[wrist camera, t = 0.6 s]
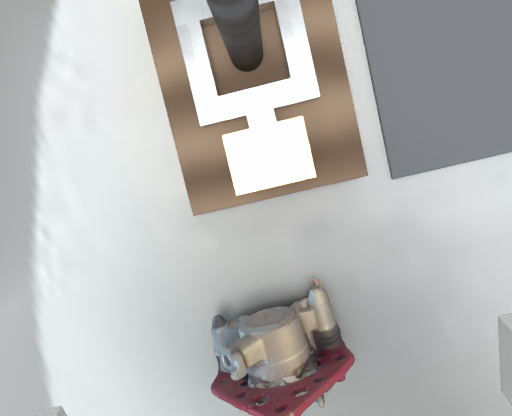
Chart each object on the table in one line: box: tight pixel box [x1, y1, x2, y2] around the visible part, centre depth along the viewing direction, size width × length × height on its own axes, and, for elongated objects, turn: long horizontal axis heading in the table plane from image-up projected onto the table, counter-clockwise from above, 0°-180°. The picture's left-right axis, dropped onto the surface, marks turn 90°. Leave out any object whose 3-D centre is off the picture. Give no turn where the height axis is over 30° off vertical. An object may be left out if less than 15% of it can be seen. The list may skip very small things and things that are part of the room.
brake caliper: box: [211, 279, 355, 416], centre depth 33 cm, size 11×11×12 cm
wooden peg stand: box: [139, 0, 368, 216], centre depth 26 cm, size 17×14×17 cm
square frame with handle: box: [170, 0, 320, 195], centre depth 25 cm, size 14×9×12 cm, turn 13°
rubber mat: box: [356, 0, 512, 179], centre depth 33 cm, size 16×15×1 cm
